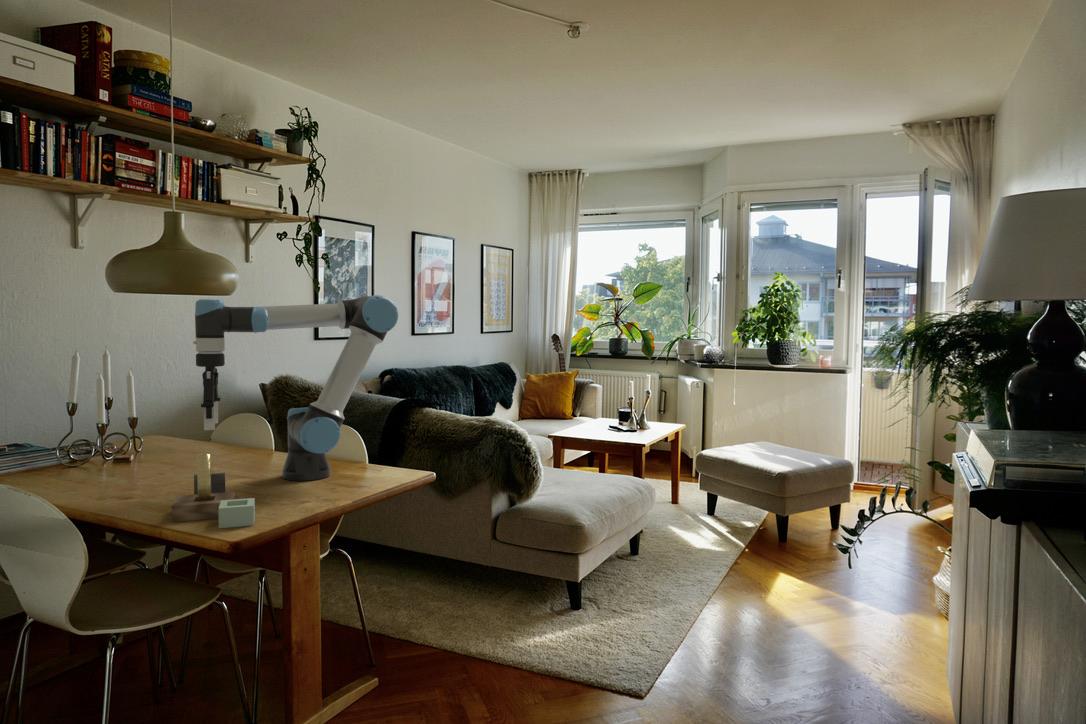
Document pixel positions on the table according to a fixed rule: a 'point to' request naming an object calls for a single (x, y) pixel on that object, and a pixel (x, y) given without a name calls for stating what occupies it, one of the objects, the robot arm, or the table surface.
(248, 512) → the hollow square block
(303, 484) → the table surface
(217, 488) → the grey t-shaped plug
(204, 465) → the peg
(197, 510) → the socket block
